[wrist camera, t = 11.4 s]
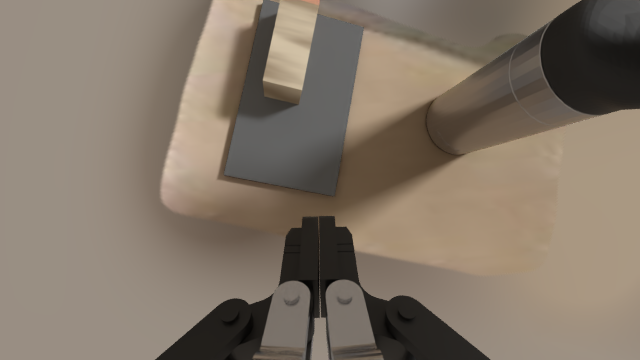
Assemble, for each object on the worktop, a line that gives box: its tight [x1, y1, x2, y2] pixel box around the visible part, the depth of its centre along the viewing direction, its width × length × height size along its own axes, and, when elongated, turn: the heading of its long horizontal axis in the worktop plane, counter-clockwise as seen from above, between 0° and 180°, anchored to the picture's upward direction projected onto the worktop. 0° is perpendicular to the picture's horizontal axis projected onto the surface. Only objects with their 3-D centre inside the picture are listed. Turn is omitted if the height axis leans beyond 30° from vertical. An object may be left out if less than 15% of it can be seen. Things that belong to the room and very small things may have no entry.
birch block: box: [263, 0, 320, 105], centre depth 34 cm, size 4×4×12 cm
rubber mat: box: [224, 0, 364, 196], centre depth 36 cm, size 24×14×1 cm, turn 170°
